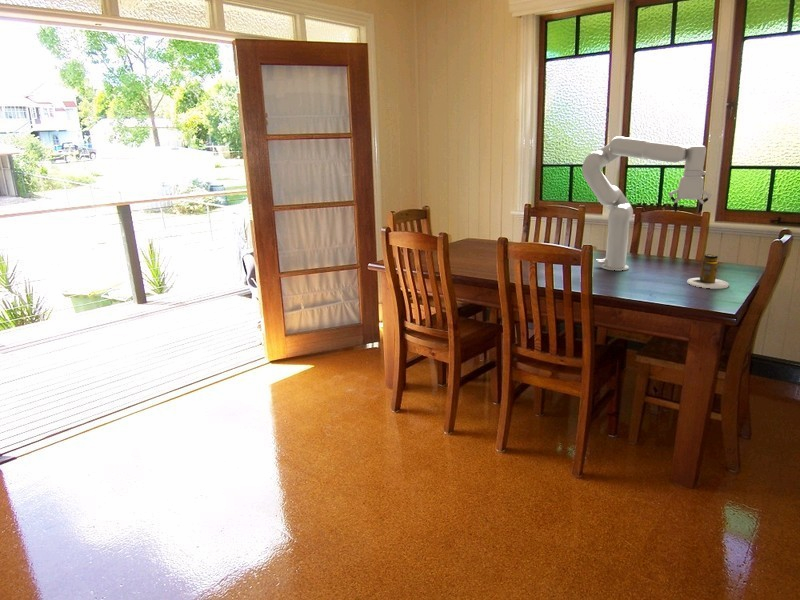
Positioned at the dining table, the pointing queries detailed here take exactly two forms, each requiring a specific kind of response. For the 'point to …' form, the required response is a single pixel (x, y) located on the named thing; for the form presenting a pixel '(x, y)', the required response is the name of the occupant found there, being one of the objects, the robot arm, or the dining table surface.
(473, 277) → the dining table surface
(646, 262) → the dining table surface
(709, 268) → the condiment
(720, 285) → the plate
